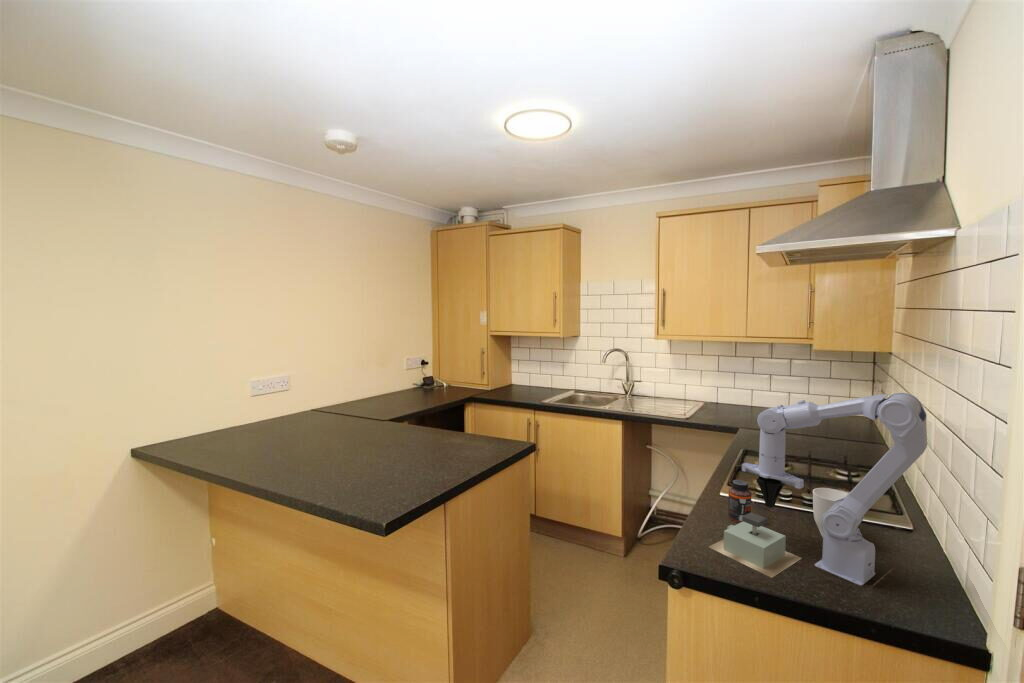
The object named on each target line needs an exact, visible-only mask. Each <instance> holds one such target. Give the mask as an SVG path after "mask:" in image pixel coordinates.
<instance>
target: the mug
mask: <svg viewBox="0 0 1024 683" xmlns="http://www.w3.org/2000/svg"><path fill="white" fill-rule="evenodd" d="M848 494H849V492H846V491H842V490H839V489H836V488H835V489H834V488H829V487H817V488H814V489H812V508H813V518H814V521H815V524H816V526H817V528H818V530H819V533H820V535H821V537H822V538H823V524H822V516H823V514H824V513H826V512H827V511H828V510H829V509H830V507H831V506H832V504H833V503H834V502H835V501H836V500H839V499H842V498H844V497H846V496H847V495H848Z"/></svg>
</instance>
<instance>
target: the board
mask: <svg viewBox="0 0 1024 683" xmlns="http://www.w3.org/2000/svg"><path fill="white" fill-rule="evenodd" d="M708 548H709V549H711V550H713V551H716V552H718V553H720V554H721V555H724V556H726V557H728V558H730V559H732V560H734V561H736V562H738V563H740V564H742V565H744V566H747V567H748V568H751V569H753V571H754V570H755V571H757V572H758V573H761V574H763V575H765V576H767V577H769V578H771V579H773V578H774V577H776V576H777V575H779V574H781V573H782V572H783V571H785V570H787V569H788V568H790V567H791V566H792V565H794V564H795V563H798V561H800V560H802V559H803V558H802V557H800V556H798V555H796V554H794V553H791V552H788V551H786V550H785V556H783V557H781V558H780V559H778V560H776V561H775V562H773V563H772V564H770V565H768V566H767V567H765V568H761V567H759V566H757V565H755V564H753V563H751V562H748V561H746V560H744V559H742V558H740V557H738V556H736V555H734V554H732V553H730V552H727V551H725V550H724V538H723V539H720V540H719V541H716V542H715V543H713V544H710V545H709V546H708Z"/></svg>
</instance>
